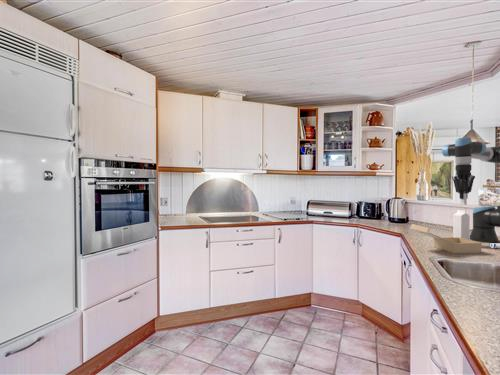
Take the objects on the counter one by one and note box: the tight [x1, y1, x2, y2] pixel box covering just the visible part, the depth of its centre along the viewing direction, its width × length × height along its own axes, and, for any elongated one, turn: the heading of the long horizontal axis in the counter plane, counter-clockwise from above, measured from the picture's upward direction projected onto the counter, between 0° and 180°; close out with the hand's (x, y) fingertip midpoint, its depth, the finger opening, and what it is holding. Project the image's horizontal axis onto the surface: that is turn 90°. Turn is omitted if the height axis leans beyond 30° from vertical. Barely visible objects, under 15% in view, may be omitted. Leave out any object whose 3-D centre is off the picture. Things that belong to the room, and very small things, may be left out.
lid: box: [409, 223, 456, 243], centre depth 167 cm, size 17×17×3 cm
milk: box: [452, 209, 471, 240], centre depth 183 cm, size 6×6×22 cm
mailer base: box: [433, 236, 482, 255], centre depth 168 cm, size 16×16×6 cm
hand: (463, 204), depth 168 cm, fingers closed
